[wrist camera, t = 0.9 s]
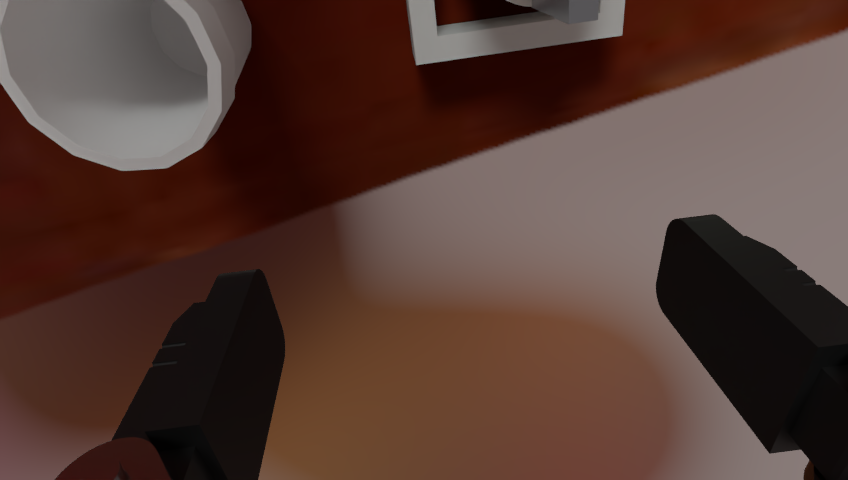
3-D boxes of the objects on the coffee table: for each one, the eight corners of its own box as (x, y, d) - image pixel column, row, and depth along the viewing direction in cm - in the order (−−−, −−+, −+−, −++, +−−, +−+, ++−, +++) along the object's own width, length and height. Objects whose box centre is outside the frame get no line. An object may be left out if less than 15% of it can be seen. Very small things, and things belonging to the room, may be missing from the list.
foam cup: (118, -73, 29) (-43, -84, 18) (277, -40, 31) (219, -31, 20) (134, 87, 34) (14, 156, 23) (272, 109, 35) (223, 184, 24)
